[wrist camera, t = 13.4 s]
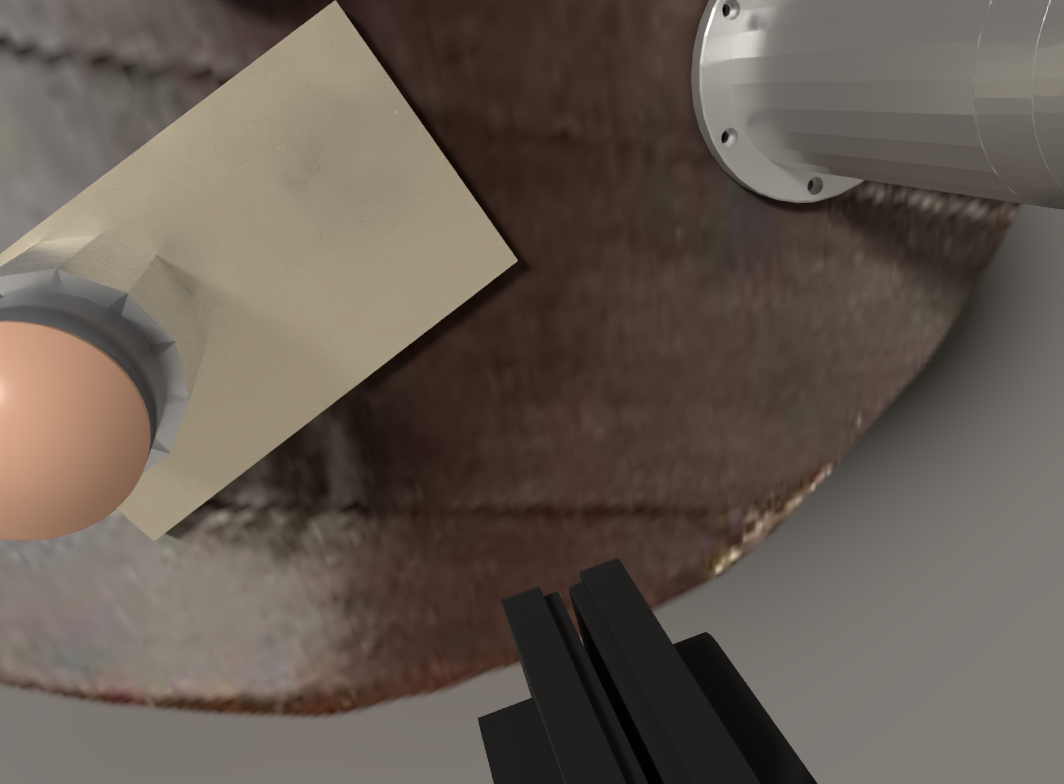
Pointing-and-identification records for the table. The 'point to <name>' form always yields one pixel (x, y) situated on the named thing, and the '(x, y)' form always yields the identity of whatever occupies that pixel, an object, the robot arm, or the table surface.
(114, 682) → the table surface
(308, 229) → the cylinder on base plate
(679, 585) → the table surface
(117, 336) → the peach ball on collar
